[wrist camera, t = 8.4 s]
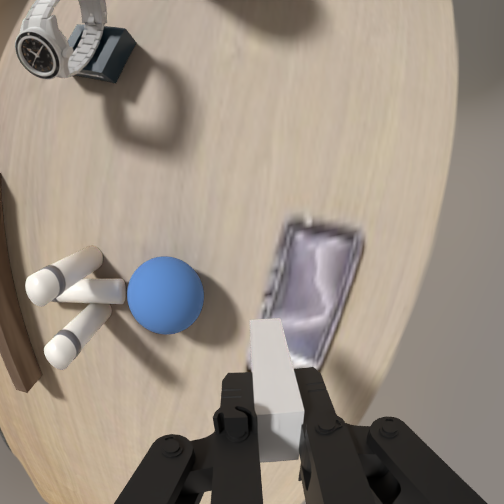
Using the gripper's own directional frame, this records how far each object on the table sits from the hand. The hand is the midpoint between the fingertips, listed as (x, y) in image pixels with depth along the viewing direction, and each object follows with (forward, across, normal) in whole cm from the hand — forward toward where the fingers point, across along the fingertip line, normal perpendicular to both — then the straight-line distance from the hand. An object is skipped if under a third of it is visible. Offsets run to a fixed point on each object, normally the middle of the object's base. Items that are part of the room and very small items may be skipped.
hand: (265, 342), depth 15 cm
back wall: (+11, -27, 0) cm, 29 cm away
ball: (+8, -7, 0) cm, 11 cm away
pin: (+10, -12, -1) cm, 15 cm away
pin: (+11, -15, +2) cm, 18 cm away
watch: (+11, -13, +20) cm, 27 cm away
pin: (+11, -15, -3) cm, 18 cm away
